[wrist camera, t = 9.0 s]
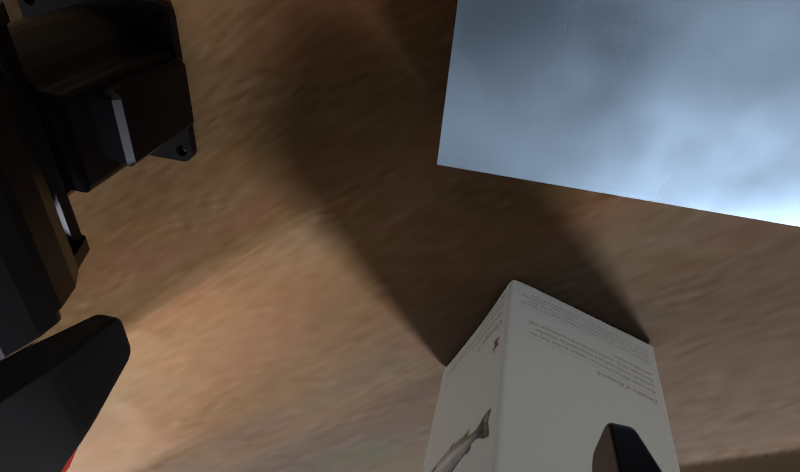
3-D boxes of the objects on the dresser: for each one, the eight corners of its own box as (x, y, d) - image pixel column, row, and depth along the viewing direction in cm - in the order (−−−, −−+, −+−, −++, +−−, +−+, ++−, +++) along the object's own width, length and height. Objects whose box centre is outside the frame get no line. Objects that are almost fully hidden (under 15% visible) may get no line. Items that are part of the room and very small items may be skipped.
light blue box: (448, 121, 20) (421, 190, 16) (475, -78, 16) (449, -61, 12) (916, 195, 18) (1040, 300, 13) (1071, -15, 14) (1313, 34, 10)
